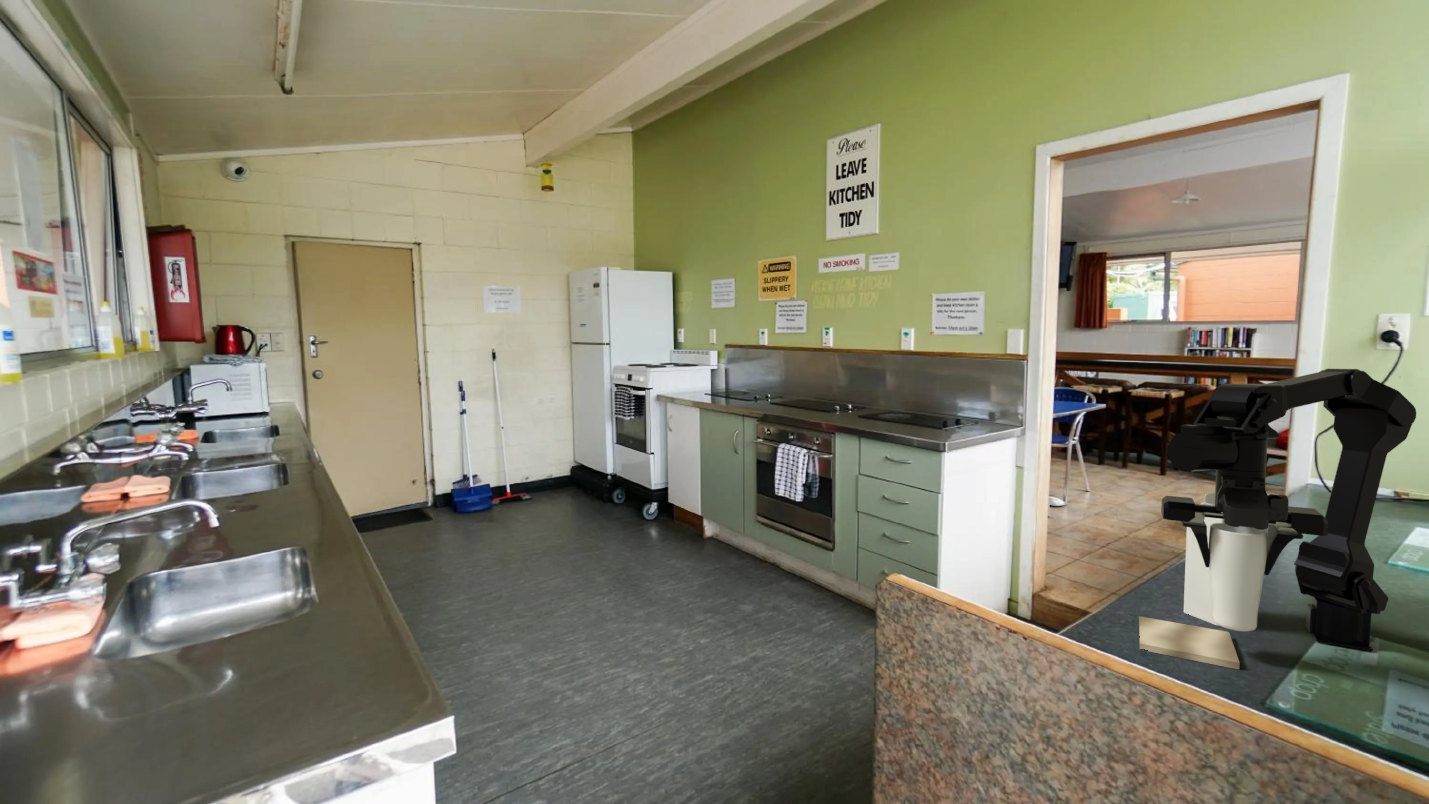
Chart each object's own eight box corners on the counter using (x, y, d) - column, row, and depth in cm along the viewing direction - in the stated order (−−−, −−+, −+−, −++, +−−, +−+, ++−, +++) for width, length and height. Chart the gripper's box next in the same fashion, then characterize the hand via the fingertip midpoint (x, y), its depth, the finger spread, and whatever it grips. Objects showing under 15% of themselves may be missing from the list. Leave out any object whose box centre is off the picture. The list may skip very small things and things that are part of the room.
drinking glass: (1274, 636, 92) (1279, 535, 91) (1221, 633, 93) (1226, 533, 92) (1244, 617, 99) (1249, 523, 98) (1196, 614, 100) (1199, 521, 99)
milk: (1244, 622, 108) (1251, 494, 106) (1217, 626, 106) (1224, 497, 104) (1207, 608, 114) (1213, 487, 112) (1181, 612, 112) (1187, 489, 110)
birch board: (1228, 637, 102) (1228, 631, 102) (1239, 669, 92) (1239, 662, 92) (1139, 621, 108) (1139, 616, 108) (1139, 649, 98) (1140, 643, 98)
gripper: (1167, 471, 93) (1163, 575, 94) (1342, 483, 83) (1336, 600, 84) (1162, 460, 102) (1159, 555, 103) (1320, 470, 92) (1314, 575, 93)
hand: (1235, 570), depth 95 cm, fingers closed on drinking glass, 6 cm apart
